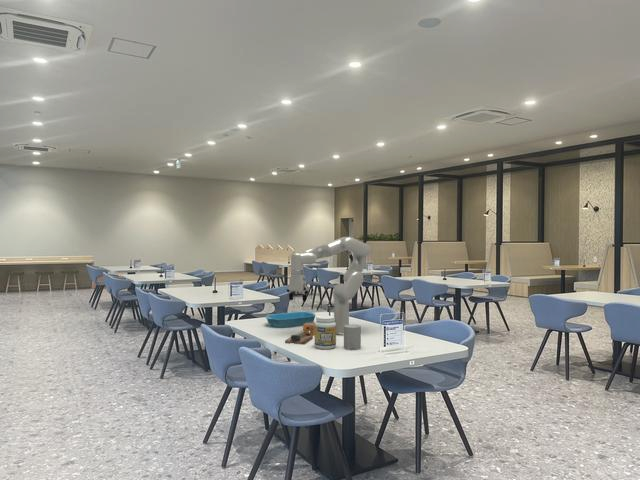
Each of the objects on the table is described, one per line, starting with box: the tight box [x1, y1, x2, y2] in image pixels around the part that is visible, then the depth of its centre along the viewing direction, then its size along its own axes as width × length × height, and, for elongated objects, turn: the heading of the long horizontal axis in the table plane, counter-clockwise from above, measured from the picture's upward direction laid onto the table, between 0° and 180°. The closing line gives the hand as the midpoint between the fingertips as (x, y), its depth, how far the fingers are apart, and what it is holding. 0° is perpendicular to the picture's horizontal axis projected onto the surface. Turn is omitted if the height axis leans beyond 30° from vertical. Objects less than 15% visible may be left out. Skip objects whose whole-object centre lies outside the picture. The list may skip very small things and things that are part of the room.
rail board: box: [284, 330, 314, 345], centre depth 282 cm, size 12×16×4 cm
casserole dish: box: [265, 311, 316, 329], centre depth 334 cm, size 37×22×7 cm, turn 119°
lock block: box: [302, 322, 315, 337], centre depth 299 cm, size 6×8×7 cm
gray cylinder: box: [343, 323, 362, 351], centre depth 264 cm, size 10×10×12 cm
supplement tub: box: [313, 315, 337, 350], centre depth 266 cm, size 12×12×17 cm
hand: (297, 300), depth 294 cm, fingers open, 9 cm apart
